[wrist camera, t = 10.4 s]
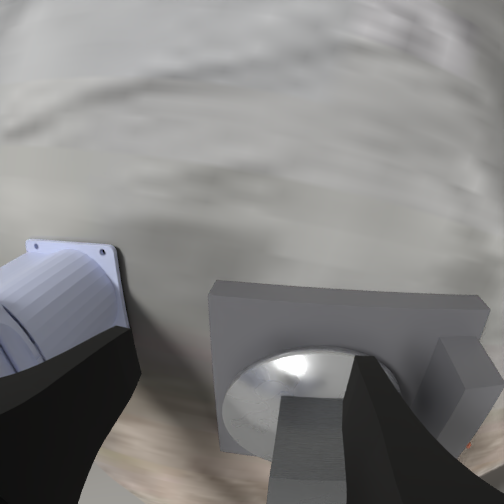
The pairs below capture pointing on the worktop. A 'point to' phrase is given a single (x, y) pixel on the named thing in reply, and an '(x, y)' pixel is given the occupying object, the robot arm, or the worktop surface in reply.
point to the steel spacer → (308, 453)
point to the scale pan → (283, 390)
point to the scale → (365, 346)
